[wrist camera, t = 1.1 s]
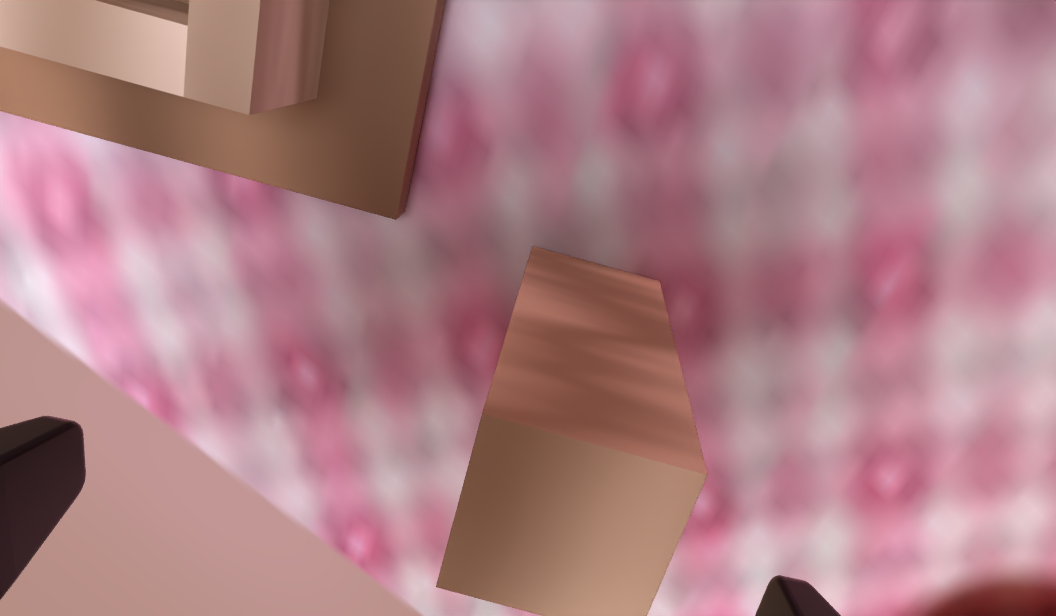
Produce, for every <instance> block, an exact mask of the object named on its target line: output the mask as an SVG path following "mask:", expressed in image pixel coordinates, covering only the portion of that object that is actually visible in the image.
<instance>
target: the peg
mask: <svg viewBox="0 0 1056 616" xmlns="http://www.w3.org/2000/svg"><path fill="white" fill-rule="evenodd" d="M706 477H707V471H706V467H705V463H704V459H703V455H702V451H701V447H700V443H699V439H698V435H697V430H696V426H695V422H694V418H693V414H692V410H691V406H690V402H689V398H688V394H687V390H686V386H685V382H684V378H683V374H682V370H681V366H680V362H679V358H678V354H677V350H676V346H675V341H674V337H673V333H672V329H671V325H670V321H669V317H668V313H667V309H666V305H665V301H664V297H663V293H662V289H661V285H660V281H658V280H654V279H650V278H647V277H643V276H639V275H636V274H632V273H629V272H625V271H621V270H618V269H614V268H610V267H607V266H603V265H599V264H596V263H592V262H588V261H585V260H581V259H578V258H574V257H570V256H567V255H563V254H559V253H556V252H552V251H548V250H545V249H541V248H538V247H534V246H532V250H531V253H530V256H529V260H528V263H527V266H526V270H525V273H524V276H523V280H522V283H521V286H520V290H519V293H518V296H517V300H516V303H515V306H514V310H513V313H512V316H511V320H510V323H509V326H508V330H507V333H506V336H505V340H504V343H503V346H502V350H501V353H500V356H499V360H498V363H497V366H496V370H495V373H494V376H493V380H492V383H491V386H490V390H489V393H488V396H487V400H486V403H485V406H484V409H483V413H482V416H481V420H480V424H479V428H478V431H477V435H476V439H475V443H474V446H473V450H472V454H471V458H470V461H469V465H468V469H467V473H466V476H465V480H464V484H463V487H462V491H461V495H460V499H459V502H458V506H457V510H456V514H455V517H454V521H453V525H452V529H451V532H450V536H449V540H448V544H447V547H446V551H445V555H444V559H443V562H442V566H441V570H440V573H439V577H438V581H437V585H436V587H438V588H442V589H445V590H449V591H453V592H456V593H460V594H464V595H468V596H471V597H475V598H479V599H482V600H486V601H490V602H493V603H497V604H501V605H505V606H508V607H512V608H516V609H519V610H523V611H527V612H531V613H534V614H538V615H542V616H647V614H648V612H649V610H650V607H651V605H652V603H653V600H654V598H655V596H656V593H657V591H658V589H659V586H660V584H661V582H662V579H663V577H664V575H665V572H666V570H667V568H668V566H669V563H670V561H671V559H672V556H673V554H674V552H675V549H676V547H677V545H678V542H679V540H680V538H681V535H682V533H683V531H684V528H685V526H686V524H687V521H688V519H689V517H690V515H691V512H692V510H693V508H694V505H695V503H696V501H697V498H698V496H699V494H700V491H701V489H702V487H703V484H704V482H705V480H706Z"/></svg>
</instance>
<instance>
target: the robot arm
mask: <svg viewBox="0 0 1056 616" xmlns="http://www.w3.org/2000/svg"><path fill="white" fill-rule="evenodd" d="M85 476H86V469H85V454H84V438H83V430H82V428H81V426H80V425H79V424H78V423H76V422H75V421H71V420H67V419H62V418H57V417H52V416H42V417H38V418H35V419H31V420H27V421H24V422H20V423H17V424H13V425H10V426H6V427H3V428H0V599H1V598H2V597H3V596H4V594H5V593H6V592H7V591H8V589H9V588H10V587H11V586H12V584H13V583H14V582H15V580H16V579H17V578H18V576H19V575H20V574H21V572H22V571H23V570H24V568H25V567H26V566H27V564H28V563H29V561H30V560H31V559H32V557H33V556H34V555H35V553H36V552H37V551H38V549H39V548H40V547H41V545H42V544H43V543H44V541H45V540H46V538H47V537H48V536H49V534H50V533H51V532H52V530H53V529H54V528H55V526H56V525H57V523H58V522H59V521H60V519H61V518H62V517H63V515H64V514H65V512H66V511H67V510H68V509H69V507H70V506H71V504H72V503H73V502H74V500H75V499H76V497H77V496H78V495H79V493H80V491H81V489H82V487H83V485H84V482H85ZM755 616H841V615H840V614H839V613H838V612H837V611H836V610H835V609H834V608H833V607H832V606H831V605H830V604H829V603H828V602H827V601H826V600H825V599H824V598H823V597H822V596H821V595H820V594H819V593H818V591H817V590H816V589H815V588H814V587H813V586H812V585H810V584H809V583H808V582H806V581H803V580H799V579H795V578H790V577H785V576H781V575H778V576H775V577H773V578H772V579H771V581H770V582H769V584H768V586H767V589H766V591H765V593H764V596H763V598H762V600H761V603H760V605H759V608H758V610H757V612H756V615H755Z"/></svg>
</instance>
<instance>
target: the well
mask: <svg viewBox="0 0 1056 616" xmlns="http://www.w3.org/2000/svg"><path fill="white" fill-rule="evenodd" d="M444 5H445V0H0V111H2V112H6V113H10V114H13V115H17V116H21V117H24V118H28V119H31V120H35V121H39V122H42V123H46V124H50V125H53V126H57V127H61V128H64V129H68V130H71V131H75V132H79V133H82V134H86V135H90V136H93V137H97V138H101V139H104V140H108V141H112V142H115V143H119V144H122V145H126V146H130V147H133V148H137V149H141V150H144V151H148V152H152V153H155V154H159V155H162V156H166V157H170V158H173V159H177V160H181V161H184V162H188V163H192V164H195V165H199V166H203V167H206V168H210V169H213V170H217V171H221V172H224V173H228V174H232V175H235V176H239V177H243V178H246V179H250V180H253V181H257V182H261V183H264V184H268V185H272V186H275V187H279V188H283V189H286V190H290V191H294V192H297V193H301V194H304V195H308V196H312V197H315V198H319V199H323V200H326V201H330V202H334V203H337V204H341V205H344V206H348V207H352V208H355V209H359V210H363V211H366V212H370V213H374V214H377V215H381V216H385V217H388V218H392V219H395V220H396V219H397V218H398V217H399V216H400V215H402V214H403V213H404V212H405V208H406V203H407V198H408V192H409V187H410V182H411V177H412V172H413V166H414V161H415V156H416V151H417V145H418V140H419V135H420V130H421V125H422V119H423V114H424V109H425V104H426V99H427V93H428V88H429V83H430V78H431V72H432V67H433V62H434V57H435V52H436V46H437V41H438V36H439V31H440V26H441V20H442V15H443V10H444Z"/></svg>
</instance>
